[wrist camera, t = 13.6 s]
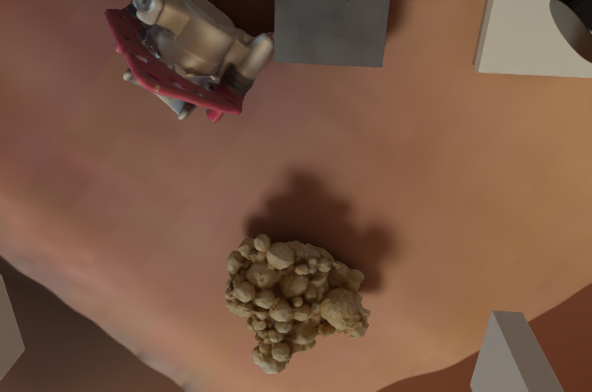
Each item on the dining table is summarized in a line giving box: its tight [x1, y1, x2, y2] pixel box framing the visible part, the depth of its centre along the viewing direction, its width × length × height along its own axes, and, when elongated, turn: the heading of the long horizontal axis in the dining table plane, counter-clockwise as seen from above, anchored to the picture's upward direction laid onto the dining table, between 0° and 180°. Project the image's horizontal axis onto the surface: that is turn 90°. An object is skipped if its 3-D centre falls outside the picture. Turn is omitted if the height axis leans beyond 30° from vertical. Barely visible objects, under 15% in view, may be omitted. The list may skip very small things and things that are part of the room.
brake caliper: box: [104, 0, 274, 123], centre depth 34 cm, size 11×11×12 cm
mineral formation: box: [225, 234, 370, 374], centre depth 44 cm, size 8×13×15 cm
